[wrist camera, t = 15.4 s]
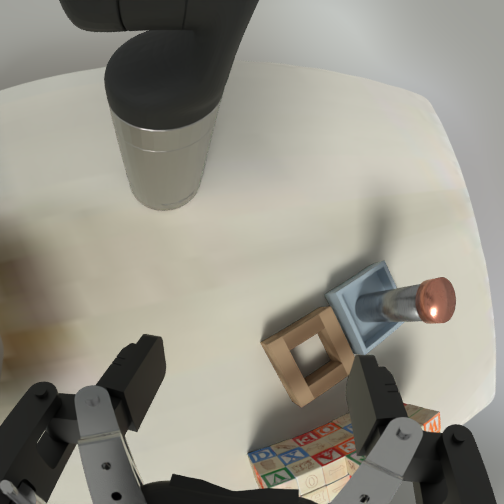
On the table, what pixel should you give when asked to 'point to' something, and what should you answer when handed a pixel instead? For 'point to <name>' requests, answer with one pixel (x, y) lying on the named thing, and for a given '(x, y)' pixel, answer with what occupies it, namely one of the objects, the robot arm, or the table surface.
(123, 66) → the robot arm
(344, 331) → the tray
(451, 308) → the pin
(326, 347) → the socket block
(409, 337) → the table surface
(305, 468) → the stack of blocks
